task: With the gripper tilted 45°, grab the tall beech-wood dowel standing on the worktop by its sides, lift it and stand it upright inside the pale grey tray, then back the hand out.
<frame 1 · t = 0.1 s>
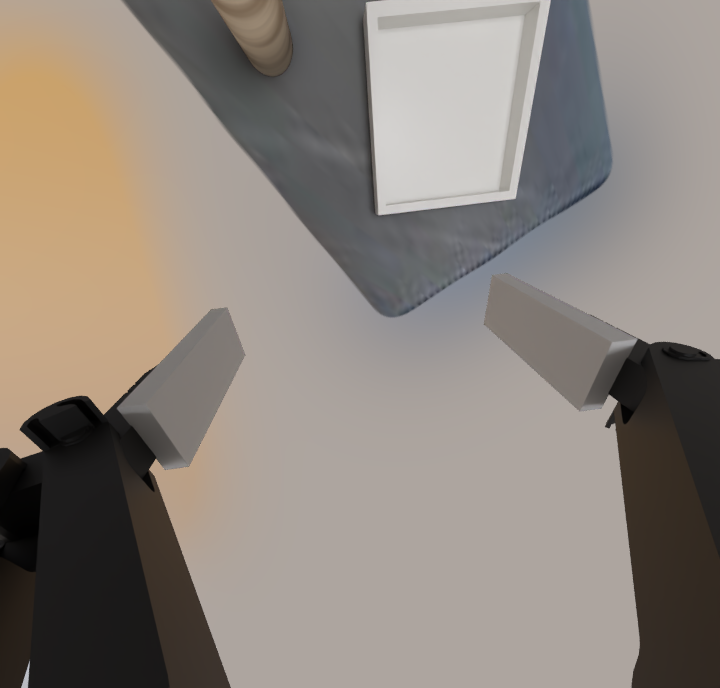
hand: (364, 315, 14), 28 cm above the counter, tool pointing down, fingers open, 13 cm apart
dowel: (268, 43, 28), on the counter
tray: (443, 122, 32), on the counter
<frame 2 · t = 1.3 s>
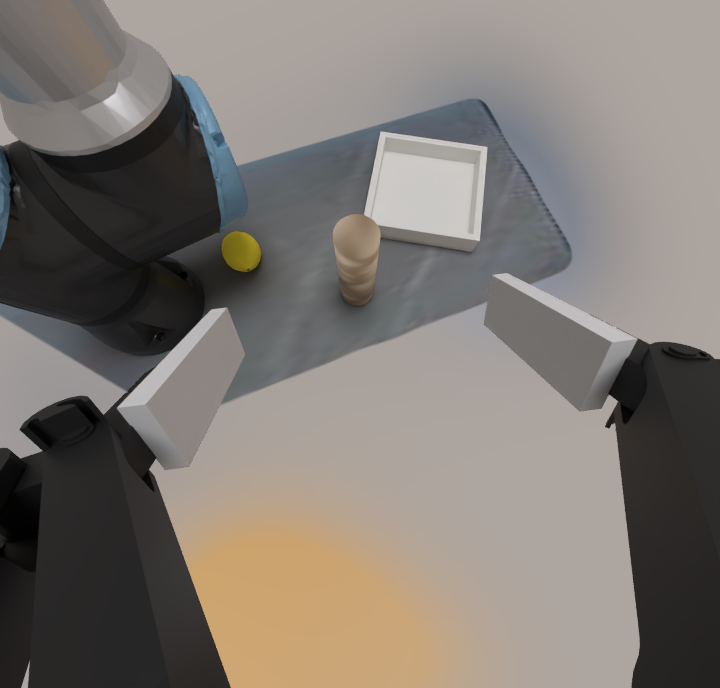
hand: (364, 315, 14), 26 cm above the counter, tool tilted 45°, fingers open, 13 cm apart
dowel: (357, 291, 41), on the counter
tray: (423, 197, 45), on the counter
lemon: (249, 262, 43), on the counter
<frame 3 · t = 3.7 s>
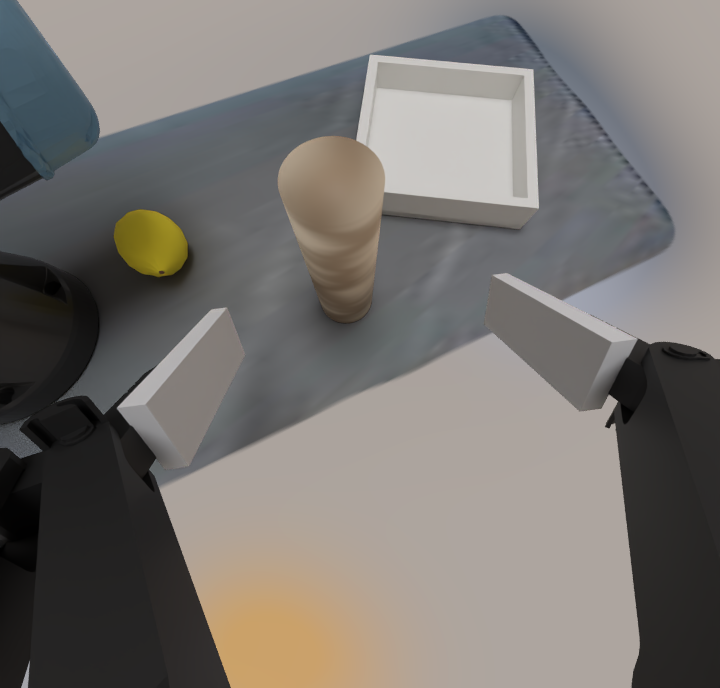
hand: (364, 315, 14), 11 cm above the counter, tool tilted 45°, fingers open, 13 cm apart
dowel: (346, 298, 26), on the counter
tray: (438, 152, 30), on the counter
lemon: (174, 261, 27), on the counter
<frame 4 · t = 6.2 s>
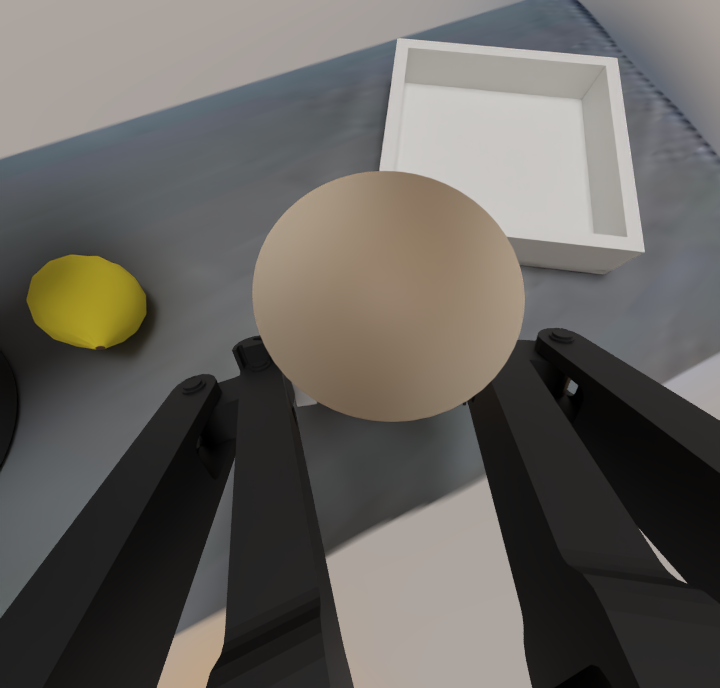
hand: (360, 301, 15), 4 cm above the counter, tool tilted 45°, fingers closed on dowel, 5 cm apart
dowel: (367, 375, 19), on the counter, touching gripper
tray: (487, 167, 23), on the counter
lemon: (130, 317, 20), on the counter
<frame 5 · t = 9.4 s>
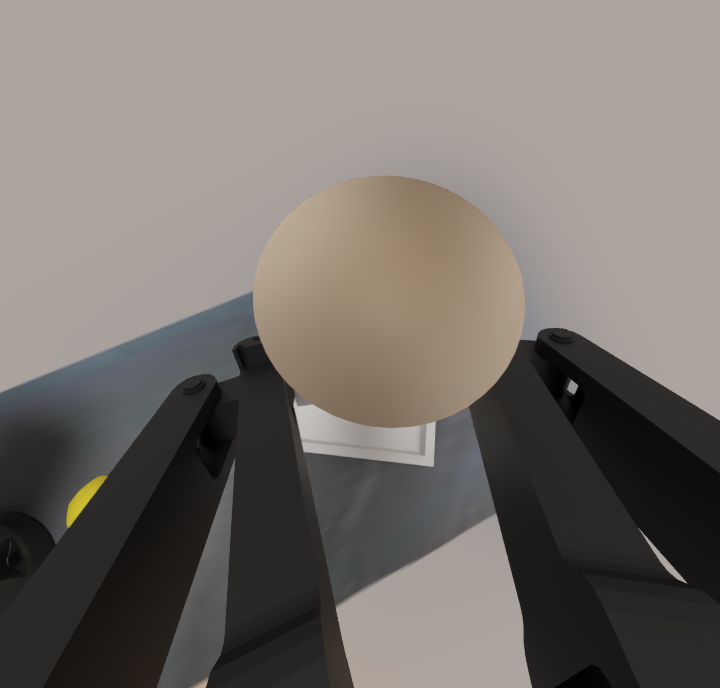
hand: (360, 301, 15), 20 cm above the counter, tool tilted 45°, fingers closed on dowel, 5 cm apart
dowel: (367, 376, 19), point 16 cm above the counter, touching gripper
tray: (360, 379, 34), on the counter
lemon: (125, 499, 31), on the counter
when the fingers open (6 cm above the counter, at t = 12.5 s): dowel drops 1 cm, resting on tray.
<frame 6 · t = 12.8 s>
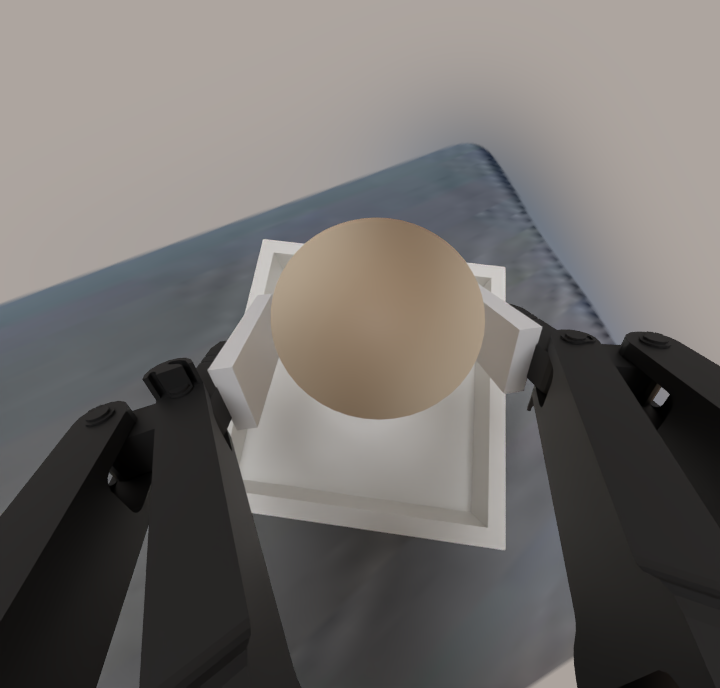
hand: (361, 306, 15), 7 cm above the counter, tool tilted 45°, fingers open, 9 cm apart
dowel: (367, 379, 20), point 1 cm above the counter, touching tray
tray: (366, 378, 20), on the counter
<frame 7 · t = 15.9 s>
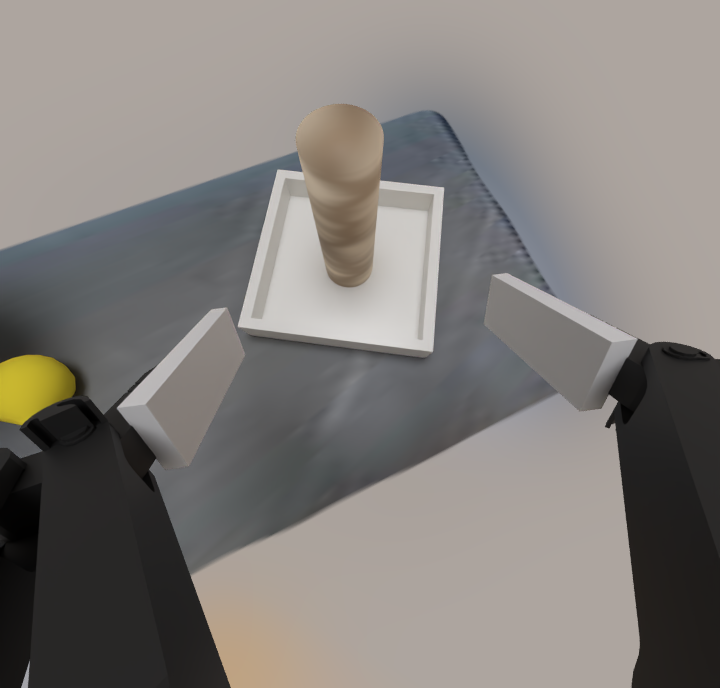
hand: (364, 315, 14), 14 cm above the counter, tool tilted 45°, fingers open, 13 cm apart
dowel: (349, 266, 29), point 1 cm above the counter, touching tray
tray: (349, 267, 29), on the counter
lemon: (65, 391, 26), on the counter
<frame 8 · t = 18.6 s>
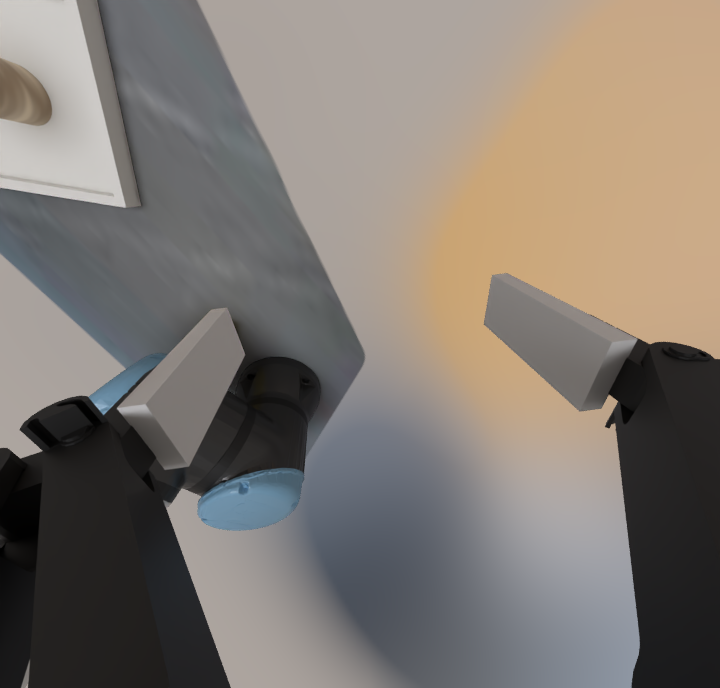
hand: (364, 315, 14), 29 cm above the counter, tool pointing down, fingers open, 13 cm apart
dowel: (22, 95, 28), point 1 cm above the counter, touching tray
tray: (26, 97, 28), on the counter
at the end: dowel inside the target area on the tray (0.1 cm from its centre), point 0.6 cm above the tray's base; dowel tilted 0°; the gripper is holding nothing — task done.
